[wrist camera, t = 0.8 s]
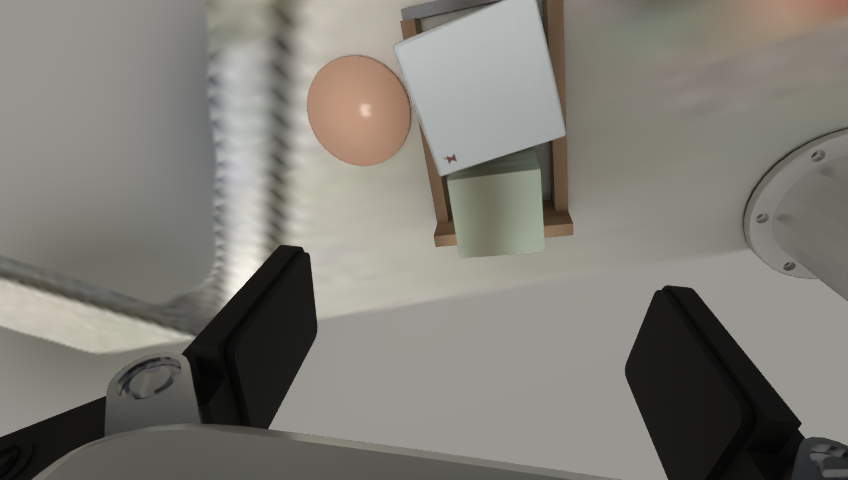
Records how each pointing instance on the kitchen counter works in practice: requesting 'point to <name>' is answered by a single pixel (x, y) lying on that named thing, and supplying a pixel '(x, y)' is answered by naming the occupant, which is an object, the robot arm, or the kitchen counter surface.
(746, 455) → the robot arm
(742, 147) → the kitchen counter surface
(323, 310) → the kitchen counter surface
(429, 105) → the supplement box
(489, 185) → the rack
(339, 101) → the coaster
